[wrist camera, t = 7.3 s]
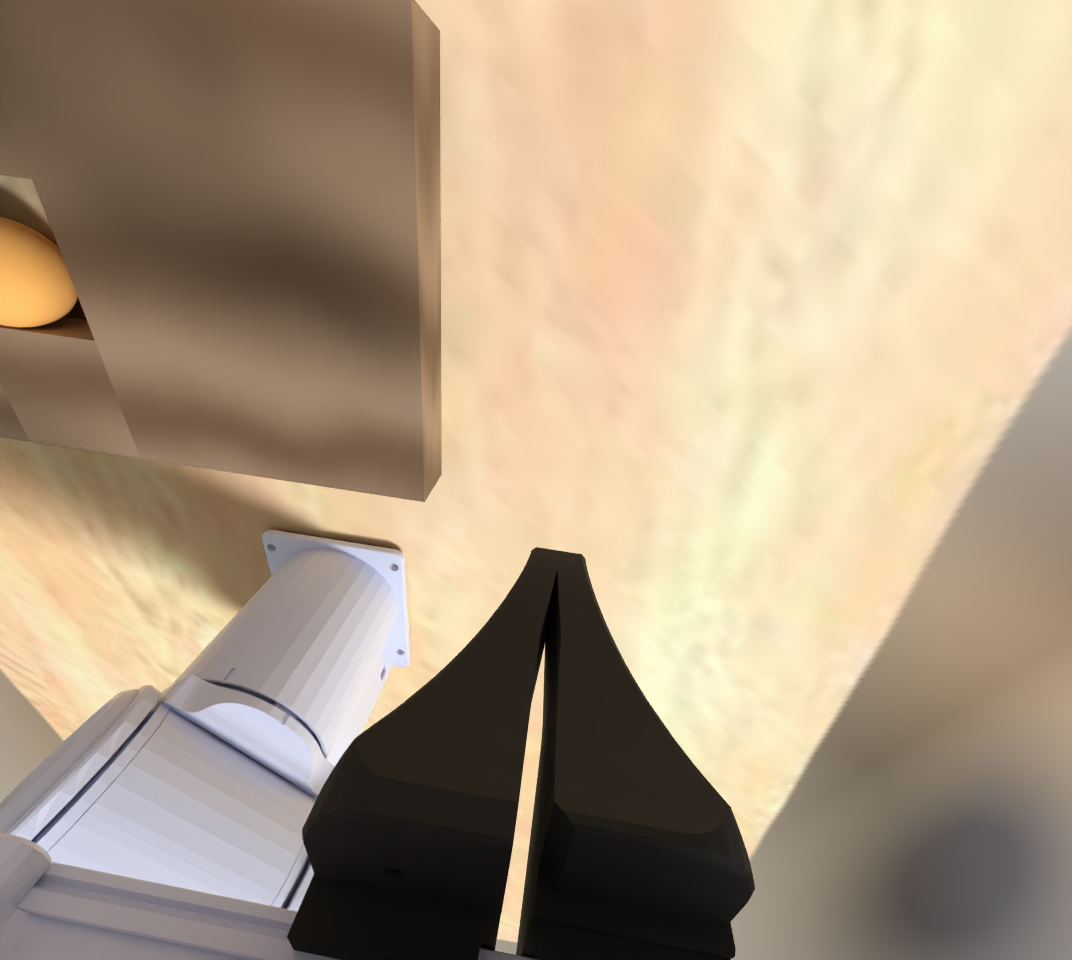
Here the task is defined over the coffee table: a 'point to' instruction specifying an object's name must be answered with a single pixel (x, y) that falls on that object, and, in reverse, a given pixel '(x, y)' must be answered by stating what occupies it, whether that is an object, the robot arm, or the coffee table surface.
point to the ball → (32, 278)
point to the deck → (233, 234)
